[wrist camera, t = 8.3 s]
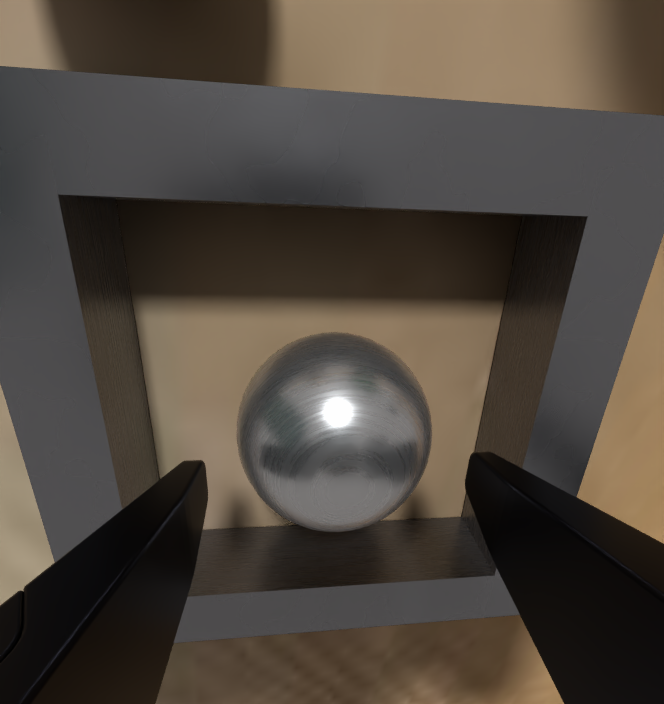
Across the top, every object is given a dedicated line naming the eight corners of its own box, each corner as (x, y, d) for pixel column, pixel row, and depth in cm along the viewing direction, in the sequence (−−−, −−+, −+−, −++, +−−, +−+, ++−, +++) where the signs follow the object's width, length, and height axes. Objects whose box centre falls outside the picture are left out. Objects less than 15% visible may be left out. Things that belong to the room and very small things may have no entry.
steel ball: (393, 448, 13) (448, 575, 9) (251, 452, 13) (228, 591, 8) (408, 312, 11) (488, 379, 7) (244, 310, 11) (209, 381, 6)
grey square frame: (500, 552, 15) (537, 613, 13) (117, 576, 14) (81, 650, 11) (606, 140, 10) (701, 118, 8) (10, 101, 8) (-98, 59, 6)
